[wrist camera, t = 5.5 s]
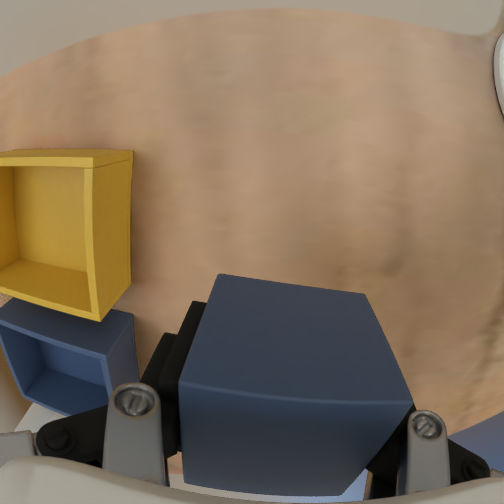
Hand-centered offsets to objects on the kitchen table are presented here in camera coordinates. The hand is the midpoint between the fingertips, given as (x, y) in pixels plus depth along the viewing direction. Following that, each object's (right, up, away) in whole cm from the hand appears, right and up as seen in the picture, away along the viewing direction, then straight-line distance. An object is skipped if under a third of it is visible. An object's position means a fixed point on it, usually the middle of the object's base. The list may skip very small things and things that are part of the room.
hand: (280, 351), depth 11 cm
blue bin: (-17, -5, +15) cm, 24 cm away
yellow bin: (-16, +7, +11) cm, 20 cm away
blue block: (0, 0, 0) cm, 0 cm away
